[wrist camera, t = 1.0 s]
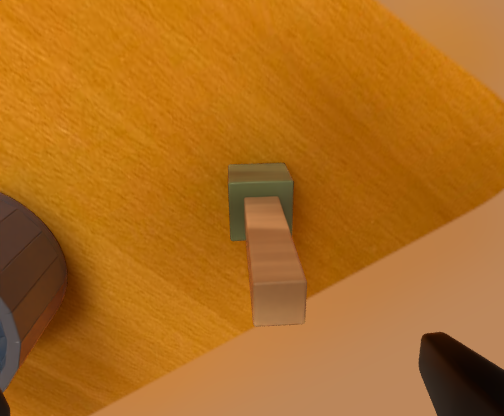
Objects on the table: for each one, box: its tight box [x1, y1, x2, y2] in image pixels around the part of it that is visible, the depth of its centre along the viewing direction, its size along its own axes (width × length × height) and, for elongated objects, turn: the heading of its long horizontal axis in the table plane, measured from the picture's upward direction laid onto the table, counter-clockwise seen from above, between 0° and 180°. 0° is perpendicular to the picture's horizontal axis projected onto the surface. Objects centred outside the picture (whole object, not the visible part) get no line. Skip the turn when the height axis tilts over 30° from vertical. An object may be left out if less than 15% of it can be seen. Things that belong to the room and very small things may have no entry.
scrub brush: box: [228, 163, 307, 327], centre depth 16 cm, size 3×3×10 cm
